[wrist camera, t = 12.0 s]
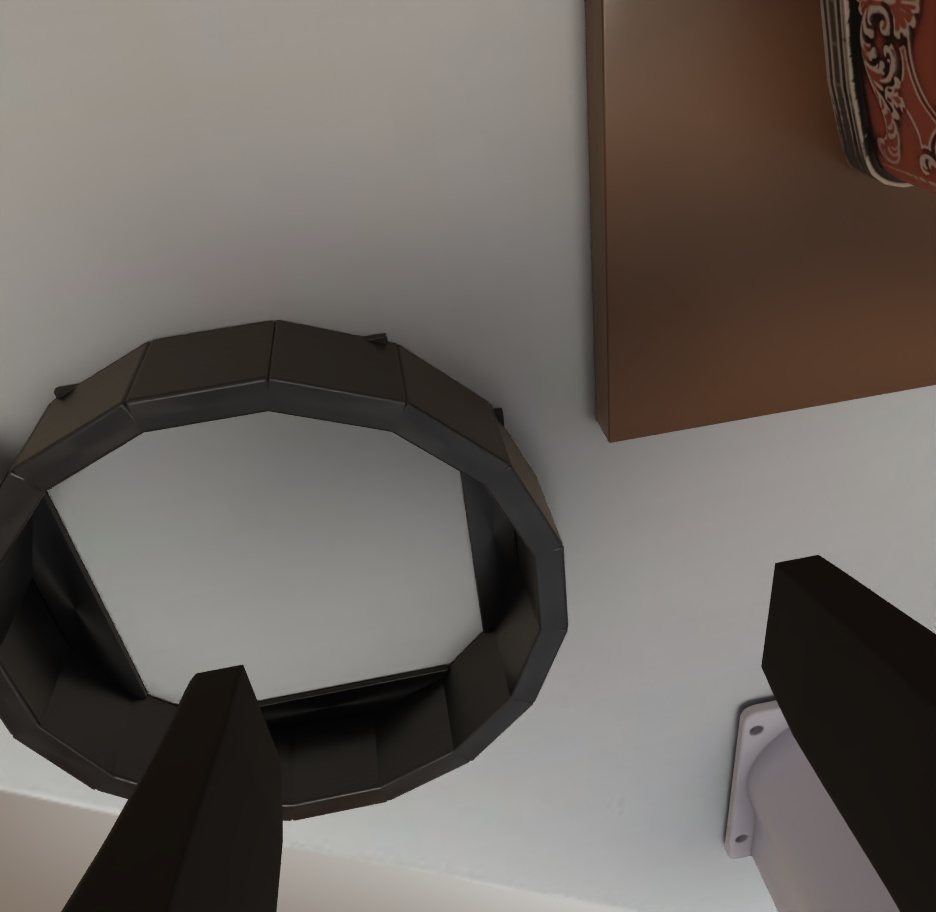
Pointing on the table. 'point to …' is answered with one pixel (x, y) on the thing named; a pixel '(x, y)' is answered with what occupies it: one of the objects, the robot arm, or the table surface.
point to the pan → (308, 714)
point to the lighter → (884, 86)
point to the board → (740, 224)
